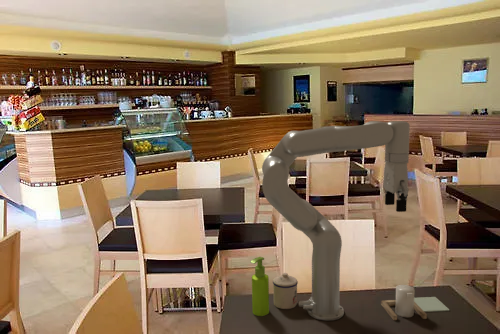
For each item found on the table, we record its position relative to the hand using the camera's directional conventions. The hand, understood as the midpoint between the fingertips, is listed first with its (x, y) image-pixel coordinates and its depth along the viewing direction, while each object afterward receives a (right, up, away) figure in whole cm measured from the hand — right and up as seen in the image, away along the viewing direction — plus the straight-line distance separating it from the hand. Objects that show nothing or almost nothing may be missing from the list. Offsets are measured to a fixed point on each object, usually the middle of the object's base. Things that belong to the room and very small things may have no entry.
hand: (395, 207), depth 141 cm
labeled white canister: (+4, -37, +2) cm, 37 cm away
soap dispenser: (-46, -38, +5) cm, 60 cm away
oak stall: (+4, -37, +3) cm, 37 cm away
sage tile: (+15, -36, +8) cm, 39 cm away
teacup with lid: (-37, -36, +12) cm, 53 cm away
